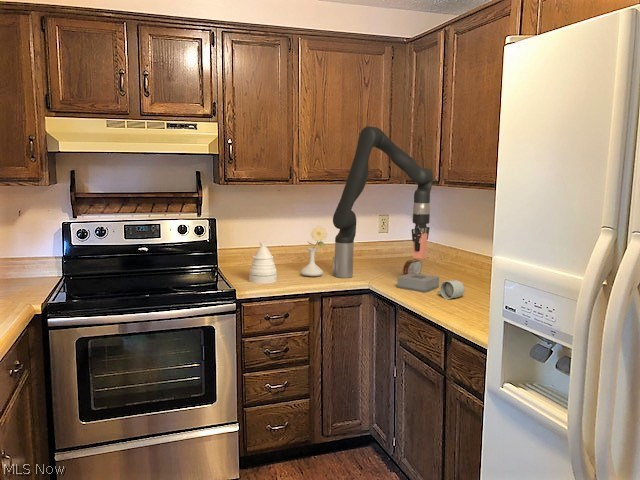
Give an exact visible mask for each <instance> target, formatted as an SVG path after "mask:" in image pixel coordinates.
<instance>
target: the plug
mask: <svg viewBox="0 0 640 480" xmlns="http://www.w3.org/2000/svg"><path fill="white" fill-rule="evenodd" d="M418 236H420V235H418ZM414 239H415V237H414ZM418 240H419V238H418ZM412 243H413V245H412V246H413V247H412V250H413V251H412V258H413V259H425V258H427V250H428V248H427V247H428V240H427V233H424V234H422V238H421V240H420V251H415V242H413V241H412Z"/></svg>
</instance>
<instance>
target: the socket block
mask: <svg viewBox="0 0 640 480" xmlns="http://www.w3.org/2000/svg"><path fill="white" fill-rule="evenodd" d="M396 285H397V287H396V288H397V289H402V290H408V291H413V292H419V293H426V294H427V293H428V292H430V291H433V290H435V289H438V288H440V276H437V275H432V274H431V275H430V274H423V273H420V274H418V273H409V274H406V275H404V274H402V275H400V276H397V284H396Z"/></svg>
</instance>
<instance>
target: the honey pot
mask: <svg viewBox="0 0 640 480" xmlns="http://www.w3.org/2000/svg"><path fill="white" fill-rule="evenodd" d="M259 245H260V247H259V248H258V249H257V251H256V252H255V254H253V255H252V256H251V258H252V259H253V260H252V262H251V265H250V269H249V282H250V283H252V284H259V285H260V284H265V285H266V284H273V283H276V282H277V281H278V279H277V278H278V276H277V275H278V273H277V272H278V270H277V268H276V265H275V264H276V263H275V262H274V256H273V255H272V254H271V252H270V250H269V248H268V247H267V246H266V242H265V241H262V242H261V241H260V242H259Z"/></svg>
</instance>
